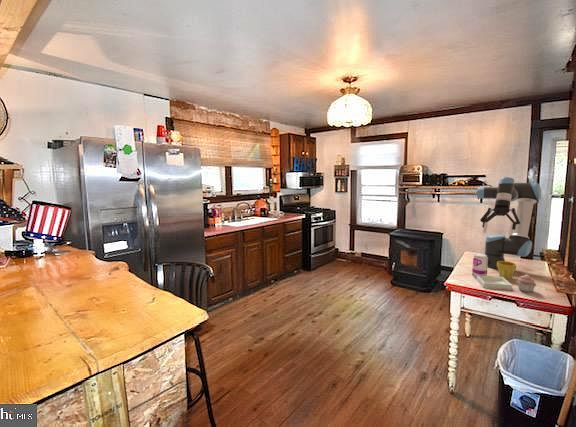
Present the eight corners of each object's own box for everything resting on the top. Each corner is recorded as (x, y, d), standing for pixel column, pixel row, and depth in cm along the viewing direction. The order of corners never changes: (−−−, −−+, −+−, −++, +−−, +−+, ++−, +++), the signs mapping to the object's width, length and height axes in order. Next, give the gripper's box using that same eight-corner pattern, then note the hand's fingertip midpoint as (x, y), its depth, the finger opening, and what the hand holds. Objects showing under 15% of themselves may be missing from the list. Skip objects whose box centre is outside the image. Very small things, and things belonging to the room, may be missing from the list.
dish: (476, 279, 192) (476, 275, 192) (502, 281, 188) (503, 277, 187) (483, 287, 179) (483, 282, 178) (511, 289, 174) (512, 285, 174)
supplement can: (480, 279, 193) (481, 257, 191) (469, 275, 201) (470, 254, 199) (489, 277, 195) (491, 256, 193) (478, 274, 203) (479, 253, 201)
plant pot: (511, 281, 188) (512, 266, 187) (493, 276, 197) (494, 262, 196) (518, 277, 194) (519, 263, 193) (500, 273, 203) (501, 260, 201)
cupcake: (526, 287, 178) (527, 271, 177) (540, 293, 169) (541, 276, 167) (511, 287, 178) (512, 271, 176) (524, 293, 168) (525, 277, 167)
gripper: (478, 199, 189) (472, 230, 185) (526, 198, 169) (520, 233, 165) (482, 203, 193) (476, 233, 189) (530, 203, 173) (524, 237, 169)
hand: (497, 233), depth 177 cm, fingers open, 13 cm apart
